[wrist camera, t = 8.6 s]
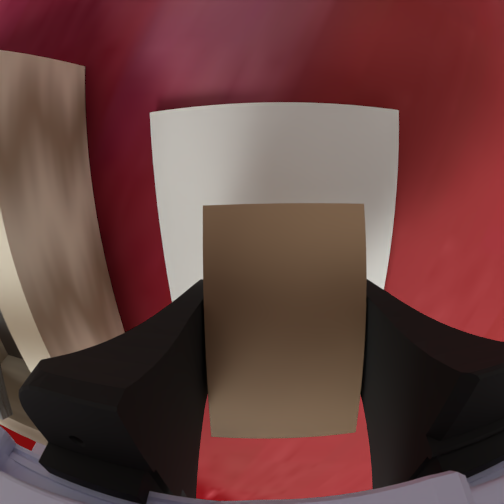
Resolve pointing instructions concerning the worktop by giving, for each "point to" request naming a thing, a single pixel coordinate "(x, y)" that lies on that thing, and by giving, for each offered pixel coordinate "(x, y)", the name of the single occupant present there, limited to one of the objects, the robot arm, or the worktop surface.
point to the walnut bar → (284, 318)
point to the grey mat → (271, 170)
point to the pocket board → (47, 226)
